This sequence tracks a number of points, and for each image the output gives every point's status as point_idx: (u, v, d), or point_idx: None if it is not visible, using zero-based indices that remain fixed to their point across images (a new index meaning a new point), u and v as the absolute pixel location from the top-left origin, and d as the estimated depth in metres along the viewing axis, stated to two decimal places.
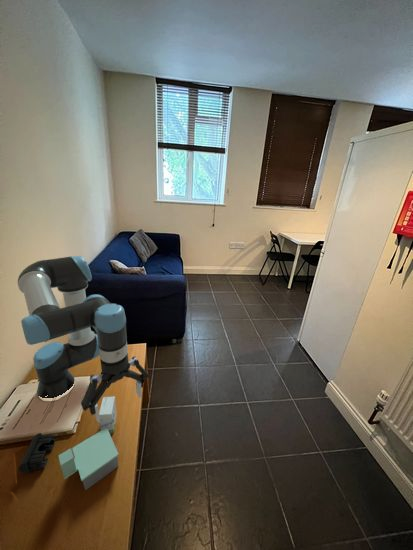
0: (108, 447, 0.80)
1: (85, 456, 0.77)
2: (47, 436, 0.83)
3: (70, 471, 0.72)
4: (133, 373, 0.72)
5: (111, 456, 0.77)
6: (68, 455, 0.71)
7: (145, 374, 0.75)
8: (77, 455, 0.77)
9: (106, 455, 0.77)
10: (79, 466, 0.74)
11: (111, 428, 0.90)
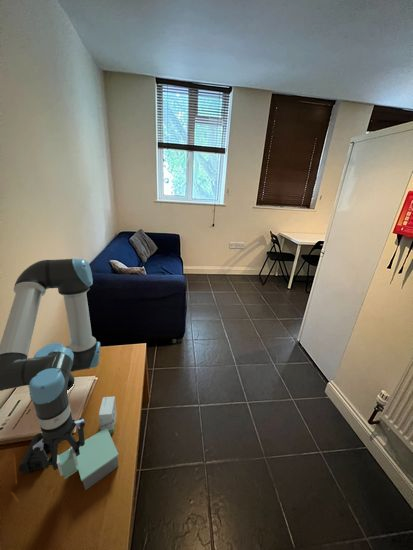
0: (108, 447, 0.80)
1: (85, 456, 0.77)
2: None
3: (70, 471, 0.72)
4: (73, 438, 0.70)
5: (111, 456, 0.77)
6: (68, 455, 0.71)
7: (82, 441, 0.72)
8: None
9: (106, 455, 0.77)
10: (79, 466, 0.74)
11: (111, 428, 0.90)
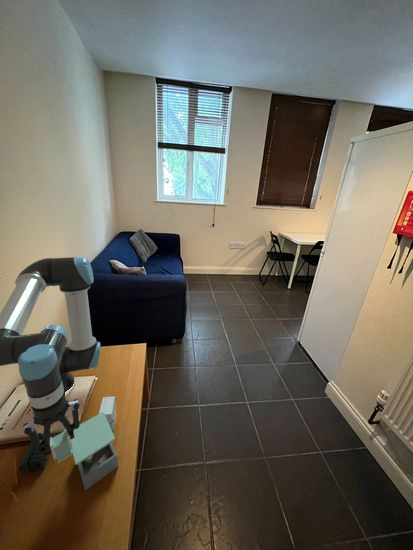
0: (104, 431, 0.76)
1: (80, 440, 0.73)
2: None
3: (64, 455, 0.69)
4: (67, 420, 0.67)
5: (107, 440, 0.74)
6: (62, 438, 0.68)
7: (76, 424, 0.68)
8: None
9: (102, 439, 0.74)
10: (74, 450, 0.71)
11: (111, 428, 0.90)
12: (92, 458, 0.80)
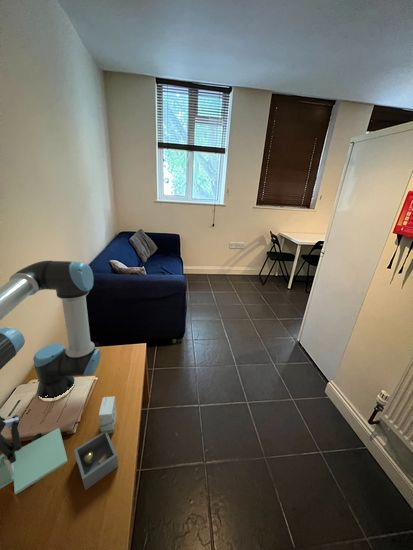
0: (56, 452, 0.66)
1: (26, 463, 0.63)
2: None
3: (2, 482, 0.58)
4: (4, 441, 0.57)
5: (58, 463, 0.64)
6: None
7: (17, 445, 0.58)
8: (17, 461, 0.63)
9: (52, 461, 0.64)
10: (16, 475, 0.60)
11: (111, 428, 0.90)
12: (92, 458, 0.80)
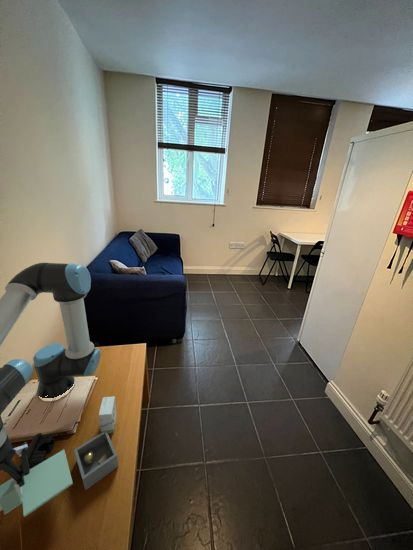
0: (62, 474, 0.70)
1: (33, 485, 0.67)
2: (47, 436, 0.83)
3: (12, 505, 0.62)
4: (14, 467, 0.60)
5: (63, 485, 0.67)
6: (9, 486, 0.62)
7: (26, 470, 0.62)
8: (25, 483, 0.67)
9: (58, 484, 0.68)
10: (24, 498, 0.64)
11: (111, 428, 0.90)
12: (92, 458, 0.80)
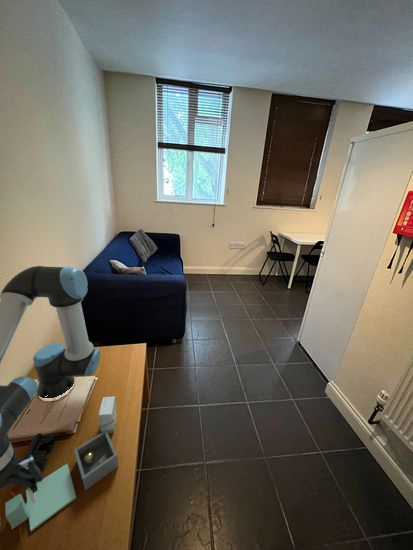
0: (66, 488, 0.73)
1: (39, 500, 0.70)
2: (47, 436, 0.83)
3: (19, 520, 0.65)
4: (24, 477, 0.64)
5: (67, 499, 0.71)
6: (16, 502, 0.65)
7: (38, 478, 0.66)
8: (30, 498, 0.70)
9: (62, 498, 0.71)
10: (30, 513, 0.67)
11: (111, 428, 0.90)
12: (92, 458, 0.80)
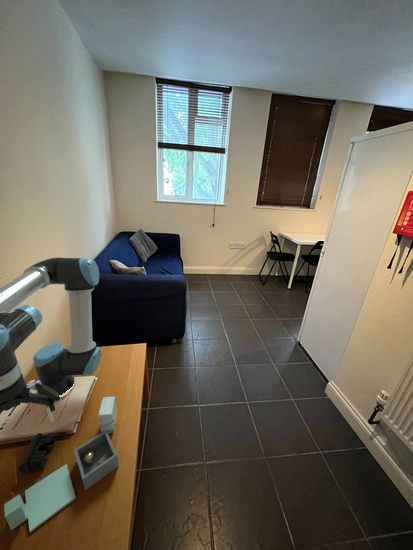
0: (65, 489, 0.73)
1: (38, 501, 0.70)
2: (47, 436, 0.83)
3: (18, 520, 0.65)
4: (37, 397, 0.64)
5: (67, 500, 0.71)
6: (15, 503, 0.65)
7: (54, 397, 0.67)
8: (29, 499, 0.70)
9: (61, 499, 0.71)
10: (29, 513, 0.67)
11: (111, 428, 0.90)
12: (92, 458, 0.80)
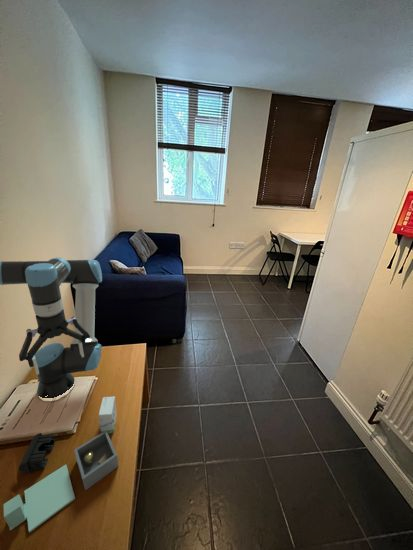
0: (64, 489, 0.73)
1: (37, 501, 0.70)
2: (47, 436, 0.83)
3: (17, 521, 0.65)
4: (73, 332, 0.78)
5: (66, 500, 0.71)
6: (15, 503, 0.65)
7: (86, 334, 0.81)
8: (29, 499, 0.70)
9: (61, 499, 0.71)
10: (29, 514, 0.67)
11: (111, 428, 0.90)
12: (92, 458, 0.80)
